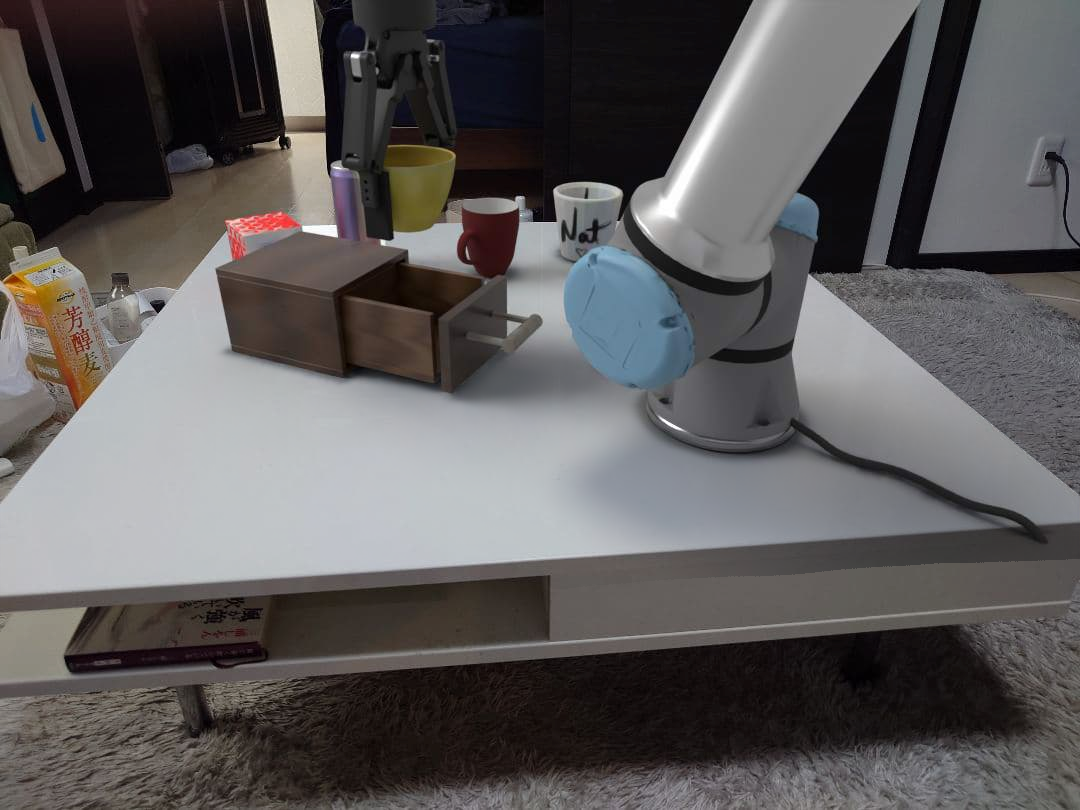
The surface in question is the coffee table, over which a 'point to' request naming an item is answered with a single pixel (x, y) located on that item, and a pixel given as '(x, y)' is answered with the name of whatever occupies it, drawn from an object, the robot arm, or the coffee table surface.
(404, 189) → the yellow bowl
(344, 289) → the cabinet
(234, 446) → the coffee table surface
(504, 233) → the mug
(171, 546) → the coffee table surface
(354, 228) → the beverage can
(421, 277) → the drawer
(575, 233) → the mug
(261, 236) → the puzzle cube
